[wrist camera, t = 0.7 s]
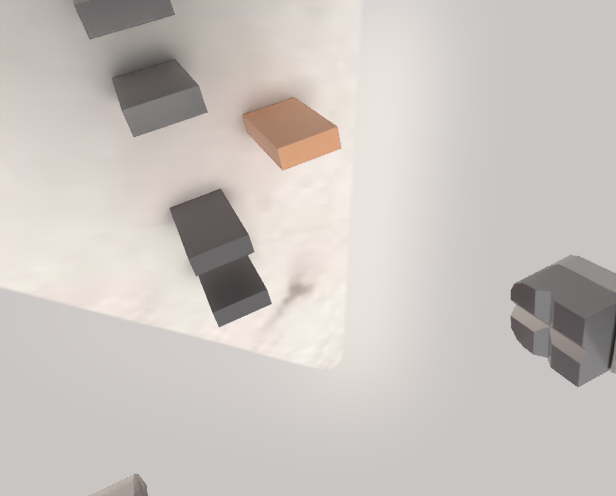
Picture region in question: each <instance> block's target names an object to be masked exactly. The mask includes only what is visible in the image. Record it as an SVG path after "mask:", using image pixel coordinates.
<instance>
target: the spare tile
mask: <svg viewBox="0 0 616 496" xmlns="http://www.w3.org/2000/svg"><path fill="white" fill-rule="evenodd" d="M243 118H244V121H245V125H246V128H247V131H248V134H249V135H250V136H251V137H252V138H253V139H254V140H255V142H256V143H257V144H258V145H259V146H260V147H261V148H262V149H263V150H264V151H265V152H266V153H267V154H268V155H269V157H270V158H271V159H272V160H273V161H274V162H275V163H276V164H277V165H278V166H279V167H280V168H281V169H282V170H285V169H288V168H291V167H293V166H296V165H299V164H301V163H304V162H306V161H309V160H312V159H314V158H317V157H320V156H322V155H325V154H328V153H330V152H333V151H335V150H338V149H341V145H340V138H339V132H338V127H337V126H336V125H334V124H333V123H331V122H330V121H328V120H327V119H325V118H324V117H322V116H321V115H320V114H318V113H317V112H315V111H314V110H312V109H311V108H309V107H308V106H306V105H305V104H303V103H302V102H300V101H299V100H298V99H296V98H295V97H293V98H290V99H287V100H284V101H281V102H278V103H275V104H273V105H270V106H267V107H264V108H261V109H258V110H255V111H252V112H249V113H247V114H244V115H243Z"/></svg>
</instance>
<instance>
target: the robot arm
mask: <svg viewBox="0 0 616 496" xmlns="http://www.w3.org/2000/svg"><path fill="white" fill-rule="evenodd" d="M511 300H512V301H513V302H514V303H515V304H516V306H515V308H514V310H513V312H512V314H511V328H512V330H513V332H514V334H515V336H516V338H517V340H518V341H519V342H520V343H521V344H522V346H523V347H524V348H526V349H527V350H528V351H530V352H531V353H532V354H534V355H539V356H543V357H547V358H548V361H549V364H550V367H551V368H552V369H554V370H555V371H556V372H558V373H559V374H560V375H562V376H563V377H565V378H566V379H567V380H569V381H570V382H571V383H573V384H574V385H575V386H577V387H579V386H581V385H583V384H585V383H587V382H588V381H590V380H592V379H594V378H596V377H597V376H599V375H601V374H603V373H605V372H607V371H608V370H610V369H611V372H613V373H616V273H614V272H611V271H609V270H607V269H605V268H603V267H600V266H599V265H596V264H594V263H592V262H590V261H588V260H586V259H584V258H582V257H580V256H573V255H570V256H568V257H566V258H564V259H562V260H560V261H558V262H556V263H554V264H552V265H551V266H548V267H546V268H544V269H542V270H540V271H538V272H536V273H534V274H532V275H530V276H528V277H526V278H525V279H522V280H521V281H519V282H517V283H515V284H514V285H513V287H512V289H511ZM89 496H148V493H147V486H146V484H145V482H144V481H143V480H142V478H141V477H140V476H139V474H134V475H132V476H130V477H127V478H125V479H123V480H121V481H119V482H117V483H115V484H113V485H111V486H108V487H106V488H104V489H102V490H100V491H98V492H96V493H94V494H92V495H89Z"/></svg>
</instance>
